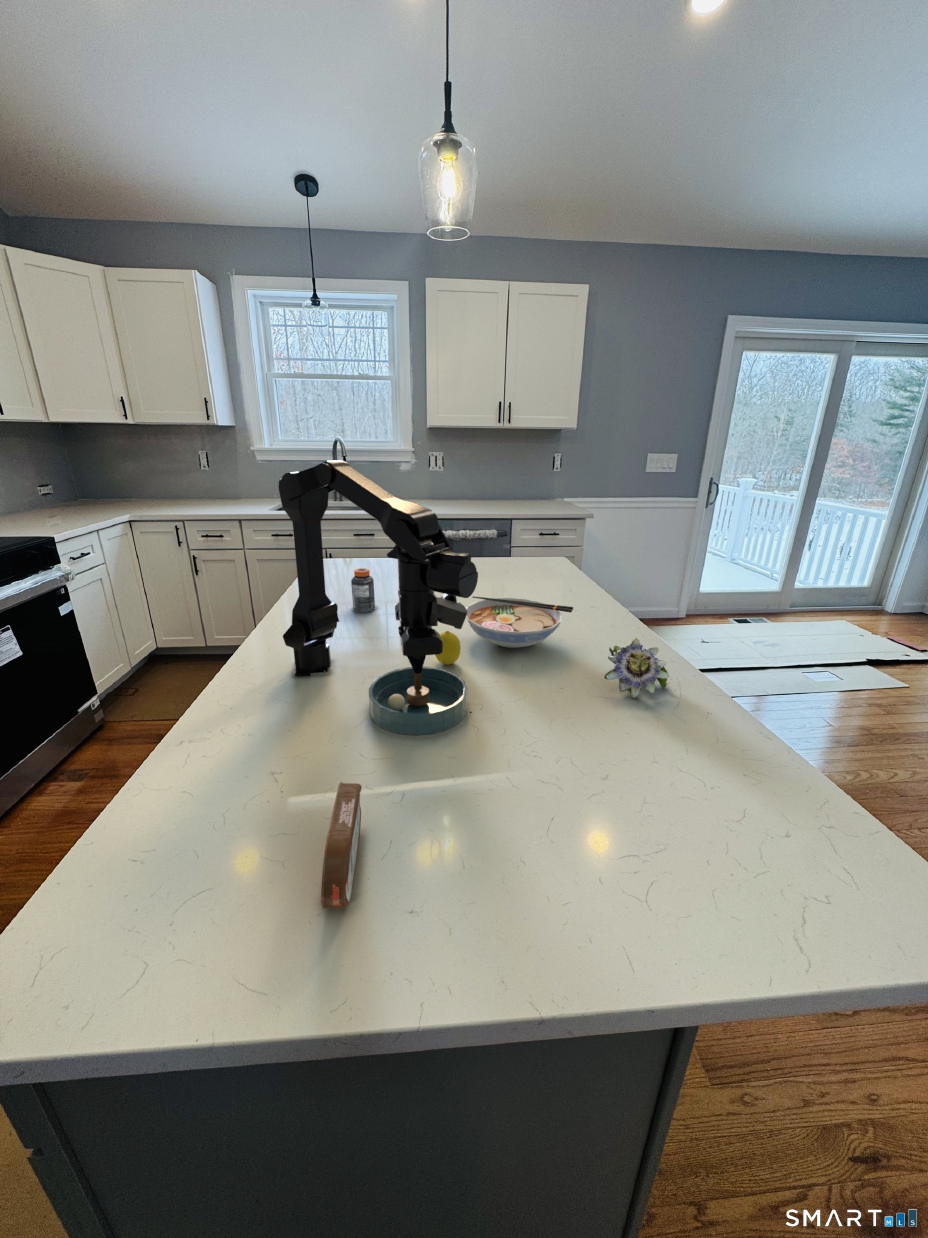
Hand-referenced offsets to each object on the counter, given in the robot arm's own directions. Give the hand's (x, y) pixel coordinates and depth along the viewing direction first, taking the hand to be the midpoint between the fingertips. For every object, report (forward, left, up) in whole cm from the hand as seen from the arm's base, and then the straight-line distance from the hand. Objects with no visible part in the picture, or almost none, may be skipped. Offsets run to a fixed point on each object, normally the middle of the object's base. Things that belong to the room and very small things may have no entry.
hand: (417, 670), depth 90 cm
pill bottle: (-9, +54, -8) cm, 55 cm away
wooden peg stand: (0, 0, -6) cm, 6 cm away
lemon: (+8, +16, -8) cm, 19 cm away
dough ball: (-3, -1, -4) cm, 5 cm away
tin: (-12, -34, -8) cm, 37 cm away
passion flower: (+43, +1, -8) cm, 44 cm away
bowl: (0, -1, -7) cm, 7 cm away
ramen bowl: (+25, +26, -8) cm, 37 cm away
